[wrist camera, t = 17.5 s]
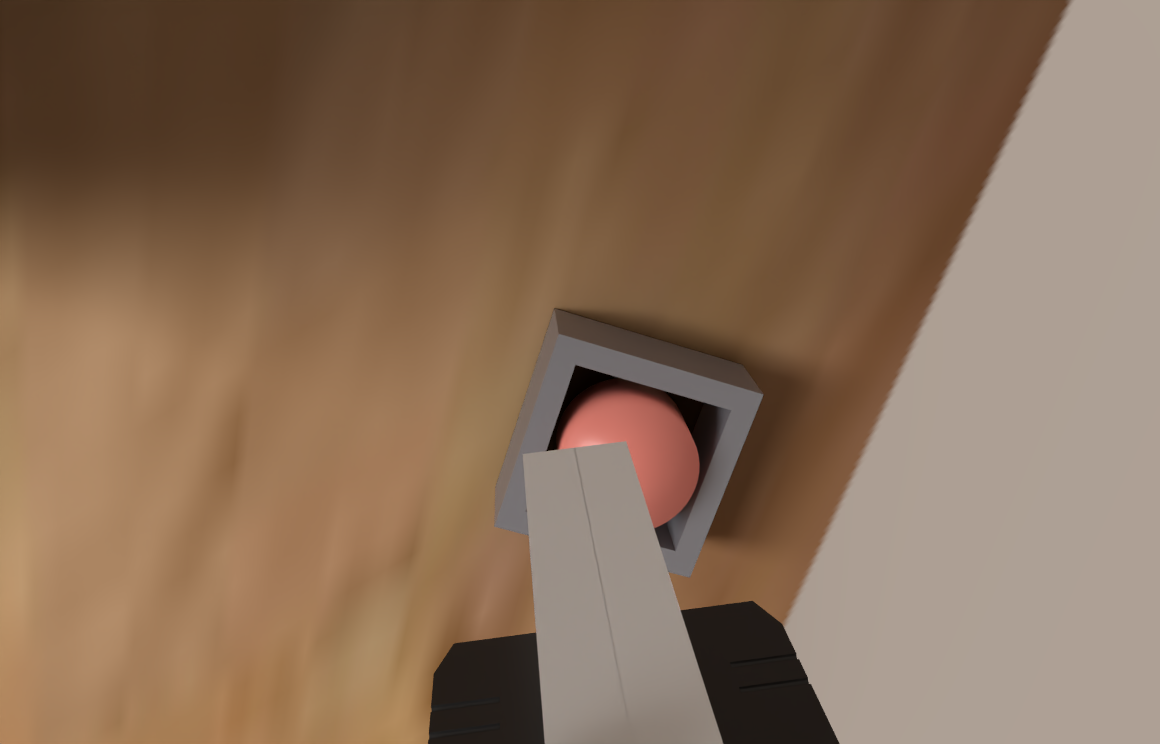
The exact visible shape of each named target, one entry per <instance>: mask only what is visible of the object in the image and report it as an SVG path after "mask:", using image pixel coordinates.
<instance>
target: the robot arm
mask: <svg viewBox="0 0 1160 744" xmlns="http://www.w3.org/2000/svg"><path fill="white" fill-rule="evenodd" d="M523 466H524V479H525V492H526V505H527V518H528V531H529V544H530V557H531V570H532V583H533V596H534V609H535V622H536V633H530V634H522V635H515V636H507V637H500V638H492V639H485V640H477V641H470V642H462V643H455V644H453V646H452V647H451V649H450V650H449V652H448V653H447V655H446V656H445V658H444V659H443V661H442V662H441V664H440V665H439V667H438V668H437V670H436V671H435V673H434V678H433V691H432V703H431V708H432V712H431V715H430V727H429V740H428V744H839V742H838V740H837V738H836V736H835V733H834V731H833V729H832V727H831V725H830V723H829V721H828V719H827V717H826V715H825V713H824V711H823V709H822V706H821V704H820V702H819V700H818V698H817V696H816V694H815V692H814V690H813V688H812V686H811V684H809V682H808V677H807V675H806V673H805V671H804V669H803V667H802V665H801V663H800V660H799V659H797V657H796V652H795V650H794V648H793V646H792V644H791V642H790V640H789V638H788V636H787V633H786V631H785V629H784V627H783V625H782V624H781V623H780V622H779V621H778V620H776V619H775V618H774V617H772V616H771V615H770V614H769V613H767V612H766V611H765V610H763V609H762V608H761V607H760V606H758V605H757V604H756V603H754V602H753V601H748V602H741V603H733V604H726V605H718V606H711V607H703V608H695V609H688V610H680V607H679V604H678V601H677V598H676V595H675V592H674V589H673V586H672V583H671V579H670V576H669V573H668V570H667V567H666V564H665V561H664V558H663V554H662V551H661V548H660V545H659V542H658V539H657V536H656V533H655V530H654V526H653V523H652V520H651V517H650V514H649V511H648V508H647V505H646V502H645V498H644V495H643V492H642V489H641V486H640V483H639V480H638V477H637V473H636V470H635V467H634V464H633V461H632V458H631V455H630V452H629V449H628V445H627V442H626V441H624V442H616V443H608V444H600V445H592V446H584V447H576V448H568V449H560V450H552V451H544V452H535V453H527V454H523Z"/></svg>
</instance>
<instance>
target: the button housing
mask: <svg viewBox="0 0 1160 744" xmlns="http://www.w3.org/2000/svg"><path fill="white" fill-rule="evenodd" d="M575 365H577V366H581V367H584V368H588V369H591V370H595V371H598V372H601V373H605V374H608V375H612V376H615V377H619V378H622V379H625V380H629V381H632V382H636V383H639V384H643V385H646V386H649V387H653V388H656V389H660V390H663V391H666V392H670V393H673V394H677V395H680V396H684V397H687V398H690V399H694V400H697V401H701V402H704V404H703V407H702V409H701V412H700V414H699V417H698V420H697V422H696V425H695V427H694V430H693V432H692V435H691V436H692V438H693V440H694V443H695V445H696V447H697V451H698V455H699V476H698V481H697V485H696V488H695V490H694V492H693V494H692V496H691V498H690V500H689V501H688V503H687V504H686V505H685V506H684V508H683V509H682V510H681V511H680V512H679V513H678V514H677V515H676V516H675V517H673V518H672V519H670V520H669V521H668V522H666V523H664V524H662V525H660V526H658V527H656V528H654V530H655V533H656V536H657V539H658V542H659V545H660V548H661V551H662V554H663V558H664V561H665V564H666V567H667V570H668V572H671V573H674V574H678V575H682V576H686V577H690V576H691V573H692V571H693V568H694V566H695V563H696V561H697V558H698V556H699V553H700V551H701V548H702V546H703V544H704V541H705V539H706V536H707V534H708V531H709V529H710V526H711V524H712V521H713V519H714V516H715V514H716V511H717V509H718V506H719V504H720V501H721V499H722V497H723V494H724V492H725V489H726V487H727V484H728V482H729V479H730V477H731V474H732V472H733V469H734V467H735V464H736V462H737V459H738V457H739V454H740V452H741V450H742V447H743V445H744V442H745V440H746V437H747V435H748V432H749V430H750V427H751V425H752V422H753V420H754V417H755V415H756V412H757V410H758V407H759V405H760V402H761V400H762V398H763V395H764V394H763V393H762V391H761V390H760V389H759V387H758V386H757V384H756V383H755V382H754V380H753V379H752V377H751V376H750V375H749V373H748V372H747V370H746V369H745V368H744V366H743V365H741V364H738V363H735V362H731V361H728V360H725V359H721V358H718V357H715V356H711V355H708V354H705V353H701V352H698V351H695V350H691V349H688V348H685V347H681V346H678V345H675V344H671V343H668V342H665V341H661V340H658V339H655V338H651V337H648V336H645V335H641V334H638V333H635V332H631V331H628V330H625V329H621V328H618V327H615V326H611V325H608V324H605V323H601V322H598V321H595V320H591V319H588V318H585V317H581V316H578V315H575V314H571V313H568V312H565V311H562V310H558V309H555V308H554V311H553V314H552V317H551V320H550V323H549V326H548V329H547V332H546V335H545V338H544V341H543V345H542V348H541V351H540V354H539V357H538V360H537V363H536V366H535V369H534V372H533V375H532V378H531V381H530V384H529V387H528V390H527V393H526V396H525V399H524V402H523V405H522V408H521V411H520V414H519V417H518V420H517V423H516V426H515V429H514V433H513V436H512V439H511V442H510V445H509V448H508V451H507V454H506V457H505V460H504V463H503V466H502V469H501V472H500V475H499V478H498V481H497V484H496V489H495V526H494V527H498V528H502V529H506V530H510V531H513V532H517V533H521V534H525V535H529V531H528V518H527V505H526V492H525V479H524V466H523V454H527V453H535V452H544V451H546V450H547V447H548V444H549V441H550V438H551V435H552V432H553V429H554V426H555V423H556V420H557V418H558V415H559V412H560V409H561V406H562V403H563V400H564V397H565V394H566V391H567V388H568V385H569V382H570V380H571V377H572V374H573V371H574V368H575Z"/></svg>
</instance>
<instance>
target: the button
mask: <svg viewBox="0 0 1160 744" xmlns="http://www.w3.org/2000/svg"><path fill="white" fill-rule="evenodd" d="M624 441H626V442H627V445H628V449H629V452H630V455H631V458H632V461H633V464H634V467H635V470H636V473H637V477H638V480H639V483H640V486H641V489H642V492H643V495H644V498H645V502H646V505H647V508H648V511H649V514H650V517H651V520H652V523H653V526H654V528H656V527H658V526H660V525H662V524H664V523H666V522H668V521H669V520H670V519H672V518H673V517H675V516H676V515H677V514H678V513H679V512H680V511H681V510H682V509H683V508H684V506H685V505H686V504H687V503H688V501H689V500H690V498H691V496H692V494H693V492H694V490H695V488H696V485H697V481H698V476H699V455H698V451H697V447H696V445H695V443H694V440H693V438H692V436H691V434H690V431H689V429H688V427H687V425H686V423H685V421H684V418H683V416H682V414H681V412H680V410H679V408H678V407H677V405H676V404H675V402H674V401H673V400H672V399H671V397H669V396H668V395H667V394H666V393H665V392H664V391H662V390H660V389H656V388H653V387H649V386H646V385H643V384H639V383H636V382H632V381H629V380H625V379H622V378H617V379H610V380H606V381H603V382H599V383H597V384H595V385H592V386H591V387H589V388H587V389H585V390H584V391H583V392H581V393H580V394H579V395H577V396H576V397H575V398H574V399H573V400H572V401H571V403H570V404H569V405H568V407H567V408H566V410H565V411H564V413H563V415H562V417H561V419H560V422H559V425H558V429H557V435H556V448H557V450H560V449H568V448H576V447H584V446H592V445H600V444H608V443H616V442H624Z"/></svg>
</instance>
